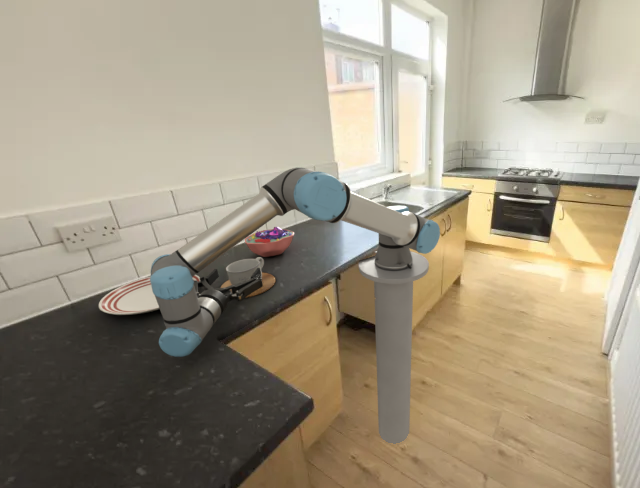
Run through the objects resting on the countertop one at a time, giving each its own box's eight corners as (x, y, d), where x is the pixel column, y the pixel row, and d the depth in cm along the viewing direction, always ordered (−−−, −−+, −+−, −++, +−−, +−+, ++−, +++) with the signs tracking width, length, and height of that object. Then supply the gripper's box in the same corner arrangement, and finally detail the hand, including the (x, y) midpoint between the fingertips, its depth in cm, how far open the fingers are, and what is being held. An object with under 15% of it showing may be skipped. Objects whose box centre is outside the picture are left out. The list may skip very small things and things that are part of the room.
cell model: (242, 253, 137) (237, 228, 132) (287, 242, 148) (284, 219, 143) (254, 266, 124) (249, 239, 120) (302, 254, 135) (299, 229, 131)
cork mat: (286, 279, 115) (286, 278, 114) (245, 303, 100) (245, 302, 100) (251, 269, 122) (250, 268, 122) (208, 290, 108) (208, 289, 108)
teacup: (242, 296, 103) (237, 274, 100) (224, 287, 109) (218, 266, 106) (277, 279, 114) (274, 259, 110) (259, 271, 119) (255, 252, 116)
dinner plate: (122, 286, 111) (119, 277, 110) (208, 273, 119) (206, 265, 118) (84, 331, 88) (79, 321, 86) (195, 312, 96) (192, 303, 94)
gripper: (163, 321, 85) (202, 283, 104) (257, 318, 85) (278, 281, 105) (154, 297, 82) (196, 262, 101) (252, 294, 82) (275, 260, 102)
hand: (238, 272), depth 103 cm, fingers open, 13 cm apart
